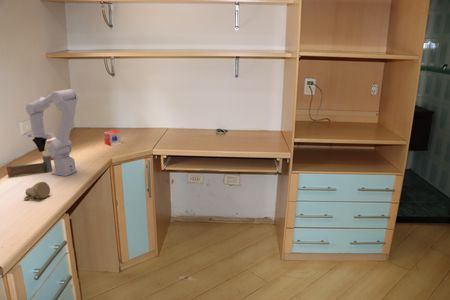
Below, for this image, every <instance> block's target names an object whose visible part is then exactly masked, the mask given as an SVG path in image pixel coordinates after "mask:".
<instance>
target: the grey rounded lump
mask: <svg viewBox="0 0 450 300" xmlns="http://www.w3.org/2000/svg"><path fill="white" fill-rule="evenodd" d="M24 193H25V196H24V198H23V200H24V201H29V200H32V199H34V198H36V199H41V200H42V199H46V198H48V196H49V195H50V194H51V188H50V185H49V184H48V183H47V182H45V181H39V182H37V183H35V184H34V185H32V186H31V187H28V188H26V189H25V192H24Z"/></svg>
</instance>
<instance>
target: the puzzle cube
mask: <svg viewBox="0 0 450 300" xmlns="http://www.w3.org/2000/svg"><path fill="white" fill-rule="evenodd" d="M103 138H104V139H103V140H104V145H107V146H109V147H112V146H117V145H122V144H123V143H122V140H123V139H122V132H121V131H118V130H114V129H113V130H110V131H109V130H108V131H104V132H103Z"/></svg>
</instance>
